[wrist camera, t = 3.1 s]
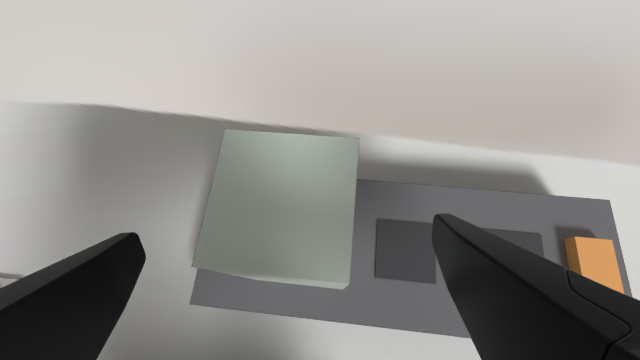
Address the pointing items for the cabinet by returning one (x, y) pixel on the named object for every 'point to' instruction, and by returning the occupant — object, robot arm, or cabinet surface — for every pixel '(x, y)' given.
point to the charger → (281, 209)
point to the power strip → (429, 256)
